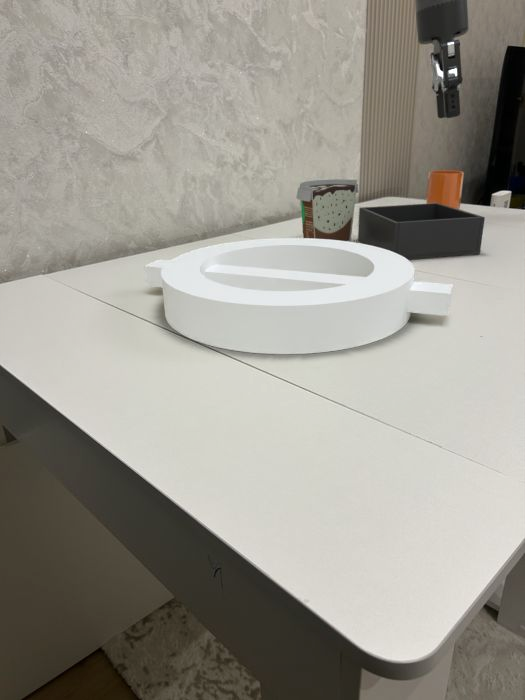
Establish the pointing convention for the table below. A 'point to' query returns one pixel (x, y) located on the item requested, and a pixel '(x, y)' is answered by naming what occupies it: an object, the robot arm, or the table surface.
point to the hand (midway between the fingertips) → (448, 117)
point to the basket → (421, 230)
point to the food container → (328, 208)
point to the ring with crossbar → (292, 294)
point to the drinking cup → (445, 187)
